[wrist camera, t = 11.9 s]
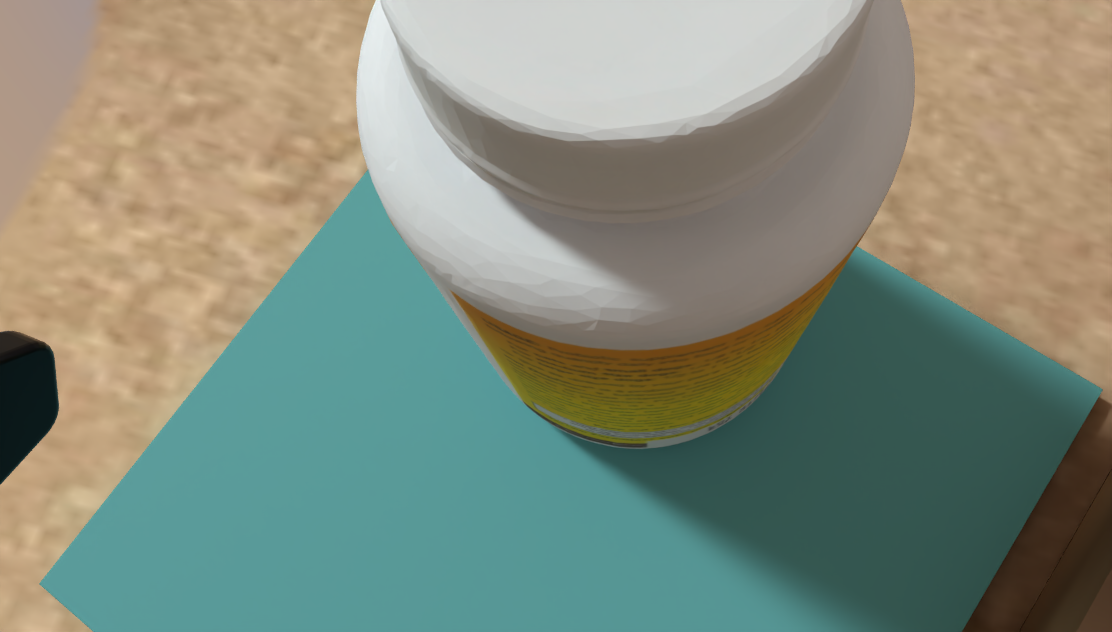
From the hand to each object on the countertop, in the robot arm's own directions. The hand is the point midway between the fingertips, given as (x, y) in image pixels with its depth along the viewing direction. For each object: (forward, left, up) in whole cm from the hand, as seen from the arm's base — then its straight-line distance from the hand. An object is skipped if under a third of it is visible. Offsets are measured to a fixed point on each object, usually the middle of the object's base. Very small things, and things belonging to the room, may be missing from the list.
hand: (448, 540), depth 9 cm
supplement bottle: (+5, -2, -7) cm, 9 cm away
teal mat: (+1, 0, -7) cm, 8 cm away
